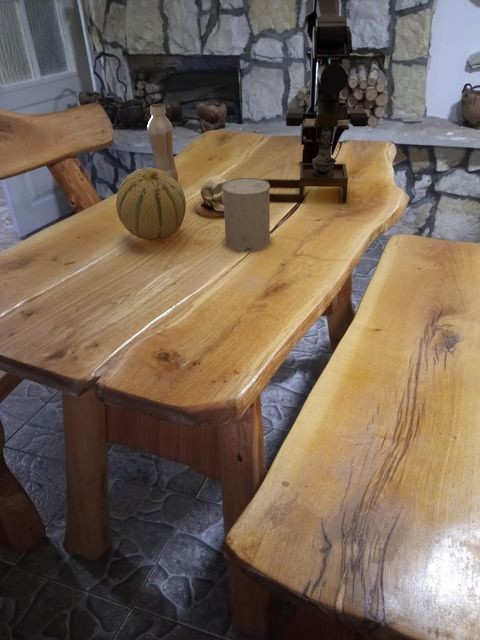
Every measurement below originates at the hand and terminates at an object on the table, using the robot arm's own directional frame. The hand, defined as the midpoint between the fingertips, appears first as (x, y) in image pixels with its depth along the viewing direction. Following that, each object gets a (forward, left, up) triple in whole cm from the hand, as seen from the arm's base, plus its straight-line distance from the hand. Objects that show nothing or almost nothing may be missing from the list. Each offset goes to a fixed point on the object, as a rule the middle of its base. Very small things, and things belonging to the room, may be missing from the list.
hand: (324, 154), depth 133 cm
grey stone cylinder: (+31, +10, -10) cm, 35 cm away
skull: (+25, -9, -10) cm, 29 cm away
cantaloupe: (+45, -5, -10) cm, 47 cm away
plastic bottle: (+27, -31, -10) cm, 42 cm away
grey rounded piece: (0, 0, -5) cm, 5 cm away
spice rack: (+4, -4, -10) cm, 12 cm away
